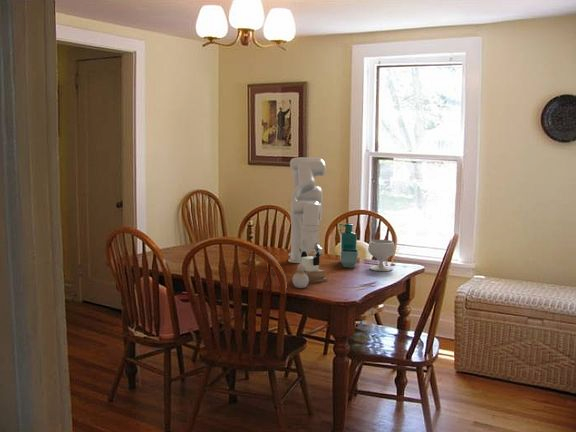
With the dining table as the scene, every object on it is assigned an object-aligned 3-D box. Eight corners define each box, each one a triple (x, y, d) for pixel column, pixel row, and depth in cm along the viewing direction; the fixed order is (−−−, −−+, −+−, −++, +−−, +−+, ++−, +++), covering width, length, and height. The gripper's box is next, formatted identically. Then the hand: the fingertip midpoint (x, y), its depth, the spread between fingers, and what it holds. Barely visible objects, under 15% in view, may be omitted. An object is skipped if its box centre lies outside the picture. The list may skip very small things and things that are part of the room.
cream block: (301, 269, 297) (301, 257, 296) (311, 268, 301) (311, 256, 300) (308, 271, 292) (308, 259, 292) (318, 270, 296) (318, 258, 295)
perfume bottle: (304, 285, 286) (304, 259, 285) (313, 289, 278) (314, 263, 276) (289, 286, 283) (289, 260, 282) (298, 291, 275) (299, 264, 273)
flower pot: (356, 268, 326) (357, 252, 325) (340, 268, 327) (340, 251, 326) (358, 265, 334) (358, 249, 333) (341, 264, 336) (342, 248, 335)
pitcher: (355, 261, 347) (356, 222, 345) (356, 264, 339) (357, 224, 336) (337, 260, 347) (338, 222, 345) (338, 263, 339) (339, 224, 336)
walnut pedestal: (292, 279, 298) (292, 269, 298) (311, 276, 305) (312, 266, 305) (307, 284, 289) (307, 273, 288) (327, 281, 295) (327, 270, 295)
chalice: (386, 266, 334) (387, 238, 332) (399, 271, 321) (400, 242, 319) (363, 267, 330) (364, 239, 328) (374, 272, 316) (375, 243, 315)
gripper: (293, 226, 299) (293, 261, 301) (315, 231, 285) (314, 267, 287) (306, 225, 303) (305, 260, 305) (328, 230, 289) (327, 265, 291)
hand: (309, 263), depth 296 cm, fingers open, 9 cm apart
